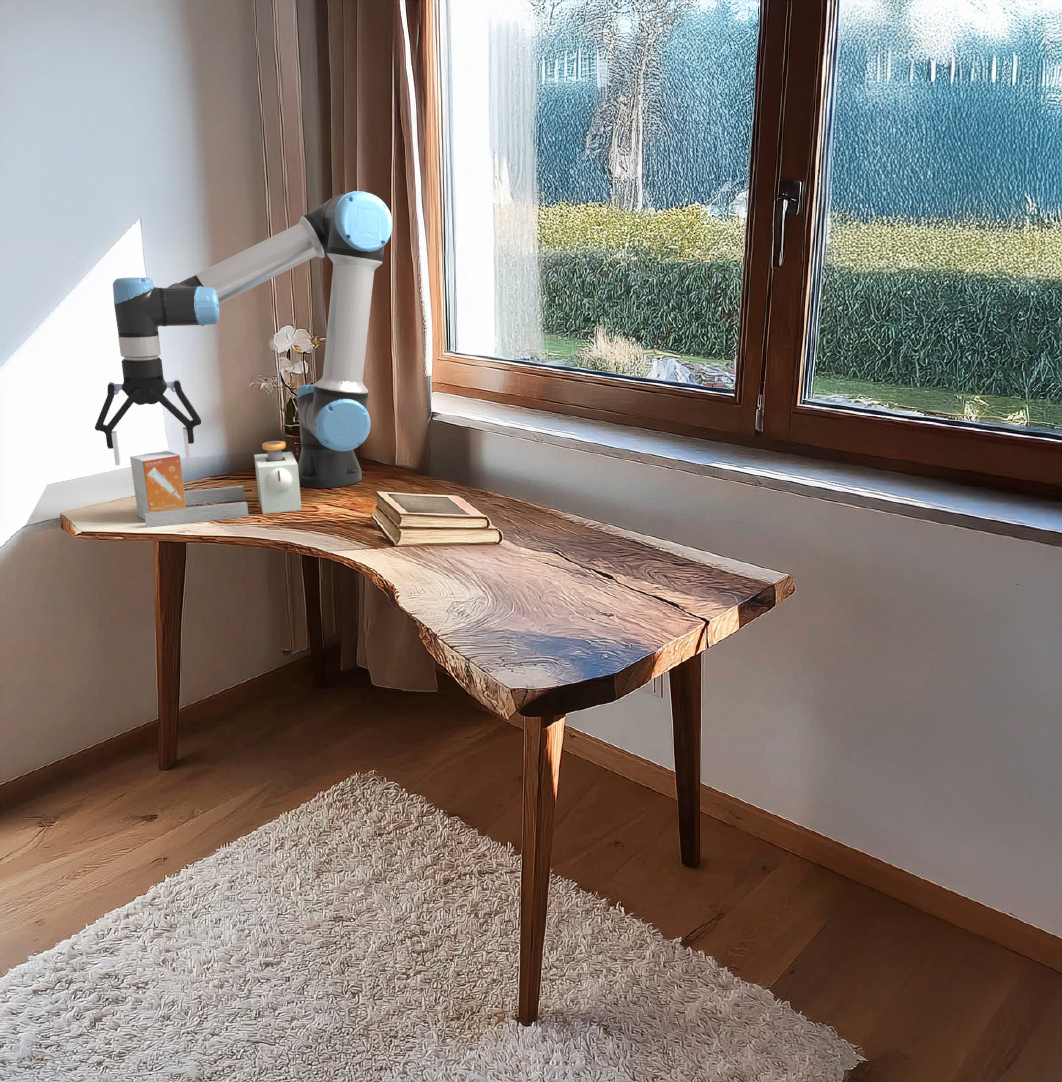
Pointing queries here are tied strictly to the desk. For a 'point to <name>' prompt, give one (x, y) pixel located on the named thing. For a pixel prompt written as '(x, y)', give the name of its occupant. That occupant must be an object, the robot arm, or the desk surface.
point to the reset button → (274, 450)
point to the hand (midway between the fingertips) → (153, 461)
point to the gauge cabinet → (278, 483)
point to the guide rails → (202, 507)
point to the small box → (157, 482)
